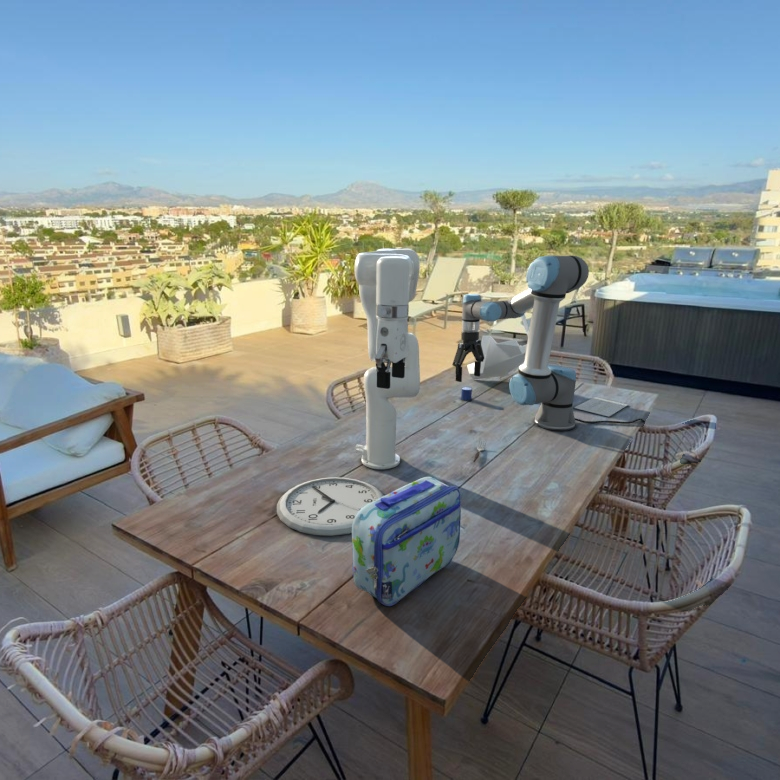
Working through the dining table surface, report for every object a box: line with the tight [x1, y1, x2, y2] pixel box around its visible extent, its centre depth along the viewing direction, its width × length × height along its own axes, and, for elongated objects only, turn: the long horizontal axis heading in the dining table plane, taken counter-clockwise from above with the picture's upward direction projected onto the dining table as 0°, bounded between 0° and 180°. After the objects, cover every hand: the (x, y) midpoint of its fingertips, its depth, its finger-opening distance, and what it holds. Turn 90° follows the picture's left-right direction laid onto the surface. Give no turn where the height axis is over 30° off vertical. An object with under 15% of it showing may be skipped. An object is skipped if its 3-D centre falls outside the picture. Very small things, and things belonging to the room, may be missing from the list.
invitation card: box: [573, 396, 629, 418], centre depth 226 cm, size 21×1×15 cm
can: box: [460, 386, 473, 402], centre depth 233 cm, size 4×4×5 cm
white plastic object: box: [466, 313, 530, 380], centre depth 255 cm, size 37×45×31 cm
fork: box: [473, 440, 487, 463], centre depth 176 cm, size 3×16×2 cm, turn 160°
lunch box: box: [351, 476, 462, 607], centre depth 111 cm, size 26×11×21 cm, turn 135°
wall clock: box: [276, 476, 385, 537], centre depth 142 cm, size 30×2×30 cm
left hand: (391, 382), depth 126 cm, fingers open, 9 cm apart
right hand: (467, 378), depth 230 cm, fingers open, 13 cm apart
